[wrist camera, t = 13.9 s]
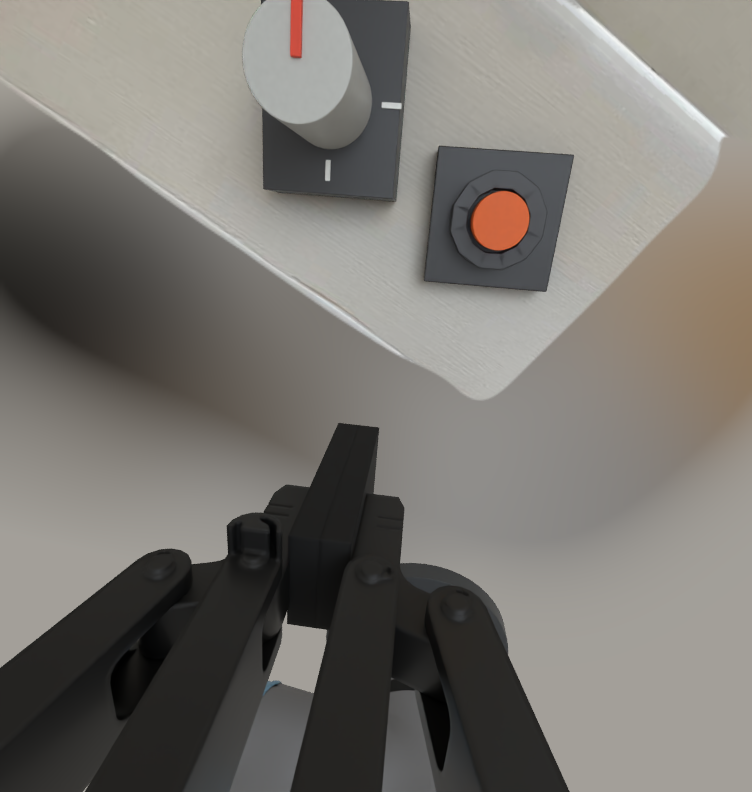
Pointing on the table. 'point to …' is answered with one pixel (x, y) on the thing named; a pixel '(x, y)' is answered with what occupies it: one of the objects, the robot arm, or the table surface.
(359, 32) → the dial panel
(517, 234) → the power button
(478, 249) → the button base
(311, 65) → the timer dial
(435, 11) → the table surface
